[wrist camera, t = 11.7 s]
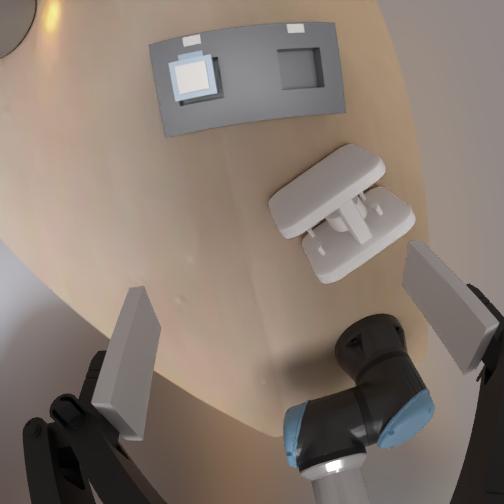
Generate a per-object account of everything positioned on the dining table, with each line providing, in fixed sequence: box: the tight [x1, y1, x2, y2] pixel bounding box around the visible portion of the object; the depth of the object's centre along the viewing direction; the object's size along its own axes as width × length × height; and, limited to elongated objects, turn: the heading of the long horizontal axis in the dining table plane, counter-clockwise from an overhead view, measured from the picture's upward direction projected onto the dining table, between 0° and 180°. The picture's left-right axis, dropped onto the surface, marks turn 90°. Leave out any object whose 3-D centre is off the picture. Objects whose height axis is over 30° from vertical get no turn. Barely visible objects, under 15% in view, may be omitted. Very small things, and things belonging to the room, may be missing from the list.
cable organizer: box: [268, 144, 416, 284], centre depth 38 cm, size 15×11×12 cm
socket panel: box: [149, 22, 346, 138], centre depth 32 cm, size 12×22×4 cm, turn 98°
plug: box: [168, 50, 219, 102], centre depth 29 cm, size 5×4×11 cm
